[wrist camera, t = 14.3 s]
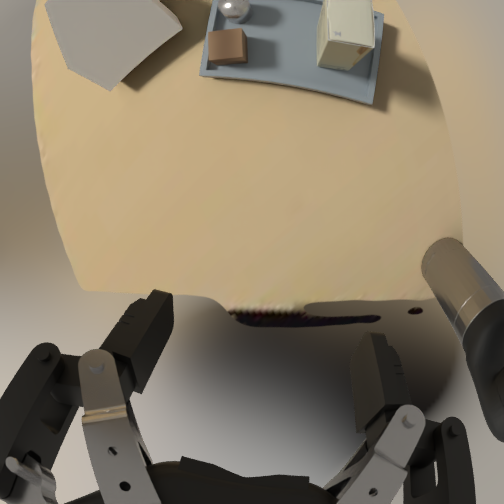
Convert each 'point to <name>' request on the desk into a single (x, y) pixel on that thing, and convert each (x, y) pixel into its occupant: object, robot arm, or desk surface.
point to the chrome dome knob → (235, 10)
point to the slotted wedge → (109, 35)
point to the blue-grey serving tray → (292, 51)
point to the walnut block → (227, 47)
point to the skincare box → (344, 33)
